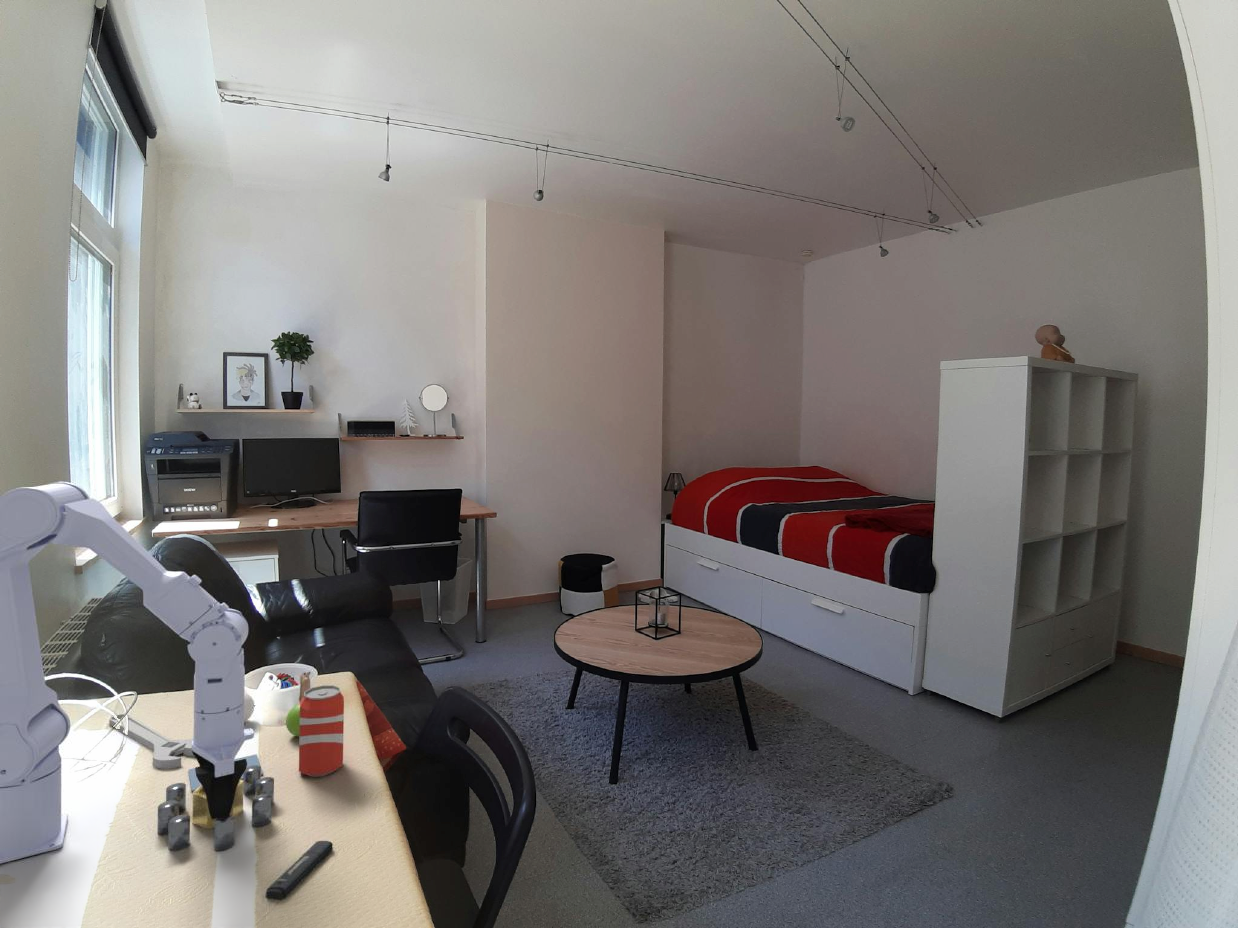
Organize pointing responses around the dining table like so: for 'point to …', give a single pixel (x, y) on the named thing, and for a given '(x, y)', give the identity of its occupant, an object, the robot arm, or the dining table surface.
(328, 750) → the beverage can
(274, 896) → the usb stick
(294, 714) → the snail figurine
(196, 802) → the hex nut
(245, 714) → the white egg
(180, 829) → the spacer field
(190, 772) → the mat
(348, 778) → the dining table surface
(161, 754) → the adjustable wrench
